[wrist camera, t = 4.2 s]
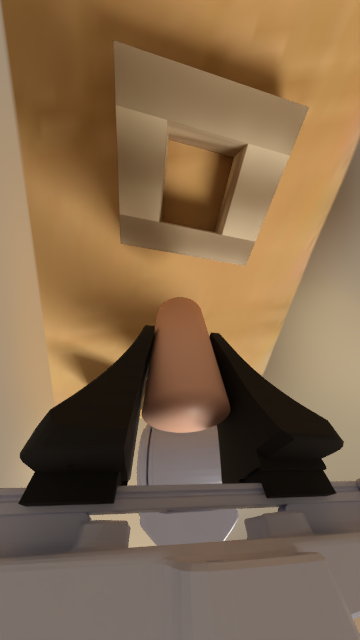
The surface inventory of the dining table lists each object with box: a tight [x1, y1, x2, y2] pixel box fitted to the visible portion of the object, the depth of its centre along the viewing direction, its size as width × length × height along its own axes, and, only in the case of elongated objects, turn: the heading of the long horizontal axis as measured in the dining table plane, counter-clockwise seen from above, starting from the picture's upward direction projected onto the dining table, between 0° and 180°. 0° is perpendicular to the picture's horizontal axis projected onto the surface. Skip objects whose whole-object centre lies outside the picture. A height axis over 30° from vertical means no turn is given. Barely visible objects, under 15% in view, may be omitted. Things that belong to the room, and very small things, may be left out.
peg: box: [142, 297, 230, 433], centre depth 10 cm, size 4×4×8 cm
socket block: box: [113, 40, 309, 266], centre depth 13 cm, size 10×12×3 cm
